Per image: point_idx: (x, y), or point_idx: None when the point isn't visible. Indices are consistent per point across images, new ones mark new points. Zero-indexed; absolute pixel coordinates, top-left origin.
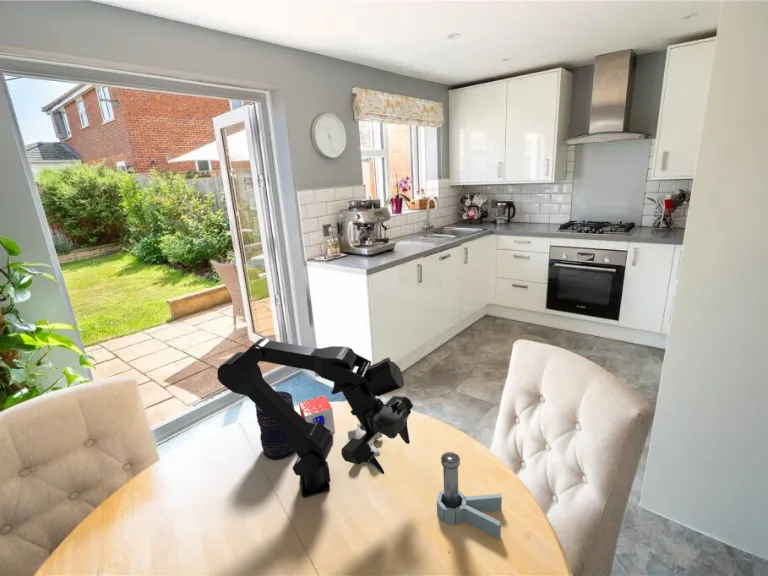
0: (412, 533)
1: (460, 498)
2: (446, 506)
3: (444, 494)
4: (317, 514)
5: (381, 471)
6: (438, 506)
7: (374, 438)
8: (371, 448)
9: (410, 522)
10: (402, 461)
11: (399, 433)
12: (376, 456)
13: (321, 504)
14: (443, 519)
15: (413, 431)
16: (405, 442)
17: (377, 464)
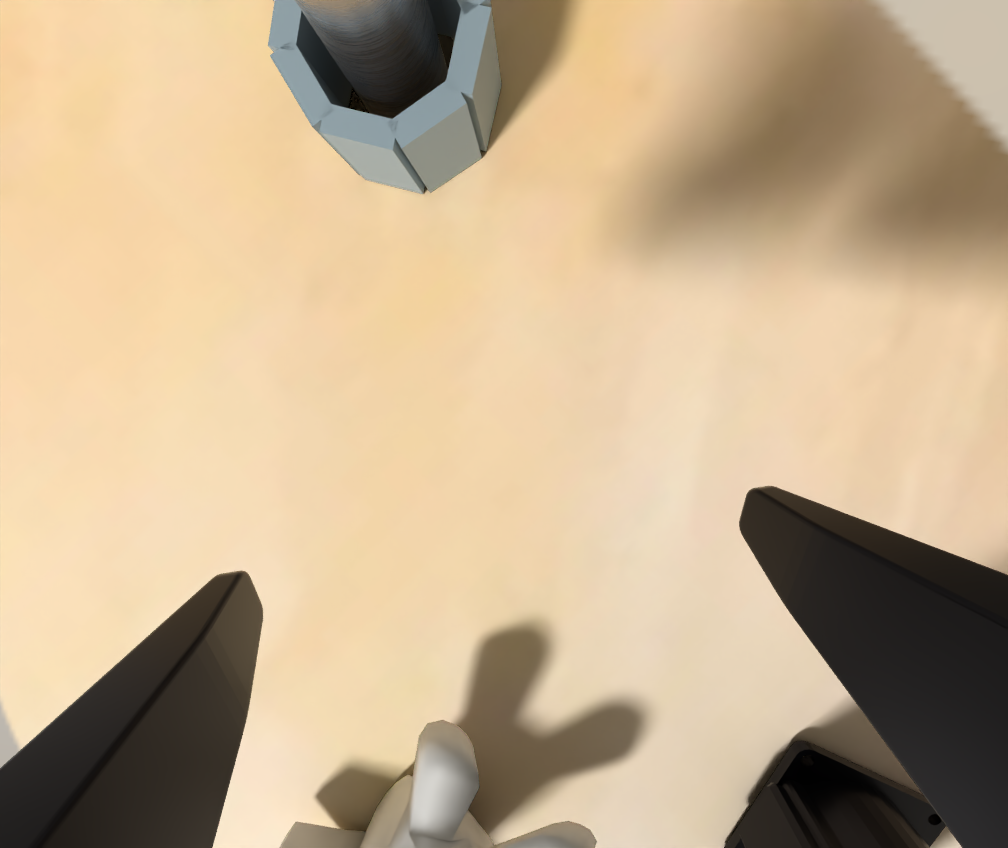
0: (685, 168)
1: None
2: (437, 53)
3: (408, 7)
4: None
5: (821, 507)
6: (480, 91)
7: (342, 845)
8: (443, 808)
9: (636, 233)
10: (341, 593)
11: (204, 828)
12: (461, 730)
13: None
14: (498, 71)
15: None
16: (258, 626)
17: (986, 587)
